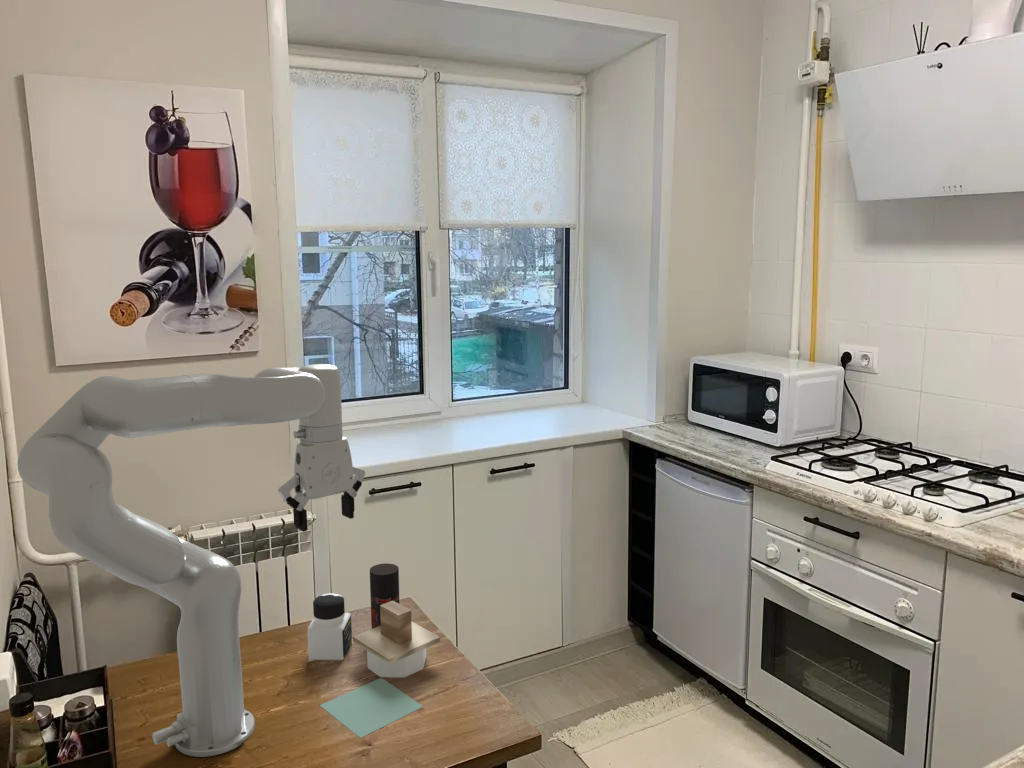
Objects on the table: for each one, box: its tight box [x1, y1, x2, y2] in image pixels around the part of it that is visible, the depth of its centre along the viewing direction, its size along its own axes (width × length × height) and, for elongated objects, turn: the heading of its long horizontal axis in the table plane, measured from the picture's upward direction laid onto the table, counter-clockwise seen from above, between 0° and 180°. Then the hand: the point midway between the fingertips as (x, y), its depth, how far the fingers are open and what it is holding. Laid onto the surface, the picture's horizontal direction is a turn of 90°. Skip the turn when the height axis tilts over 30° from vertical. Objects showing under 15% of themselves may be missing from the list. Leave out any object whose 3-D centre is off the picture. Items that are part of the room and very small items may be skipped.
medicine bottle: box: [306, 592, 353, 663], centre depth 156 cm, size 7×7×12 cm
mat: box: [319, 677, 424, 739], centre depth 138 cm, size 13×13×1 cm
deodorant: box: [369, 562, 401, 629], centre depth 162 cm, size 6×6×15 cm
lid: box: [352, 601, 441, 664], centre depth 151 cm, size 12×12×7 cm
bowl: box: [366, 648, 427, 678], centre depth 152 cm, size 11×11×5 cm
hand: (325, 522), depth 144 cm, fingers open, 9 cm apart
